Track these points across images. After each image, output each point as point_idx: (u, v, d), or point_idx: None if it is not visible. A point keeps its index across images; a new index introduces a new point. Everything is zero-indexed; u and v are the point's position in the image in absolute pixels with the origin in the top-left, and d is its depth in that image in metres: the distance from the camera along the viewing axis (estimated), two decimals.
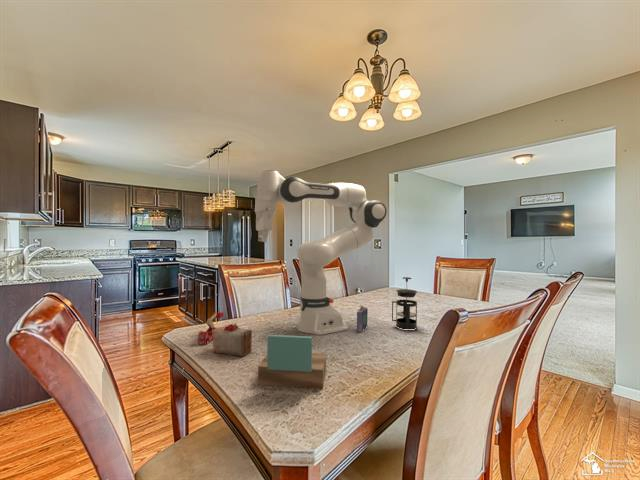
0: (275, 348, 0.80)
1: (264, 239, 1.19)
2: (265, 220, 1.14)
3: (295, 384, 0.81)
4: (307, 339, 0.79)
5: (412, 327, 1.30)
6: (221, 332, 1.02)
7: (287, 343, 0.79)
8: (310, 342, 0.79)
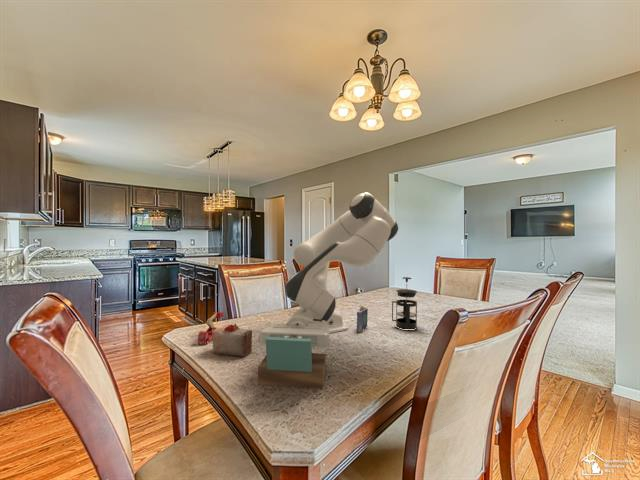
0: (274, 350, 0.78)
1: None
2: None
3: (295, 384, 0.81)
4: (306, 342, 0.77)
5: (412, 327, 1.30)
6: (221, 333, 1.02)
7: (286, 346, 0.78)
8: (309, 345, 0.77)
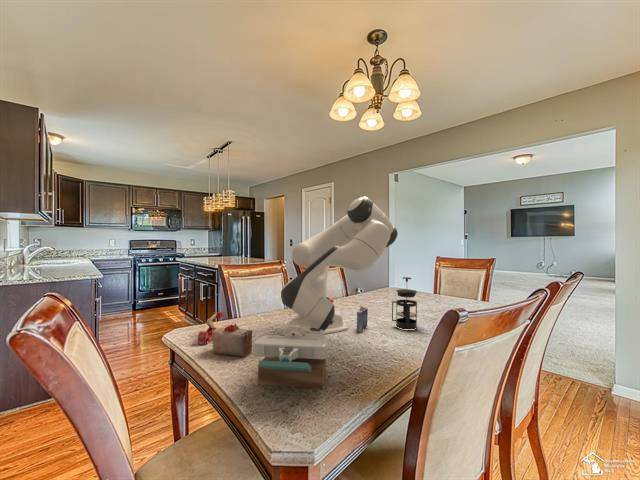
0: (270, 367, 0.74)
1: None
2: None
3: (295, 384, 0.81)
4: (302, 368, 0.71)
5: (412, 327, 1.30)
6: (221, 333, 1.01)
7: (281, 367, 0.73)
8: (306, 368, 0.72)
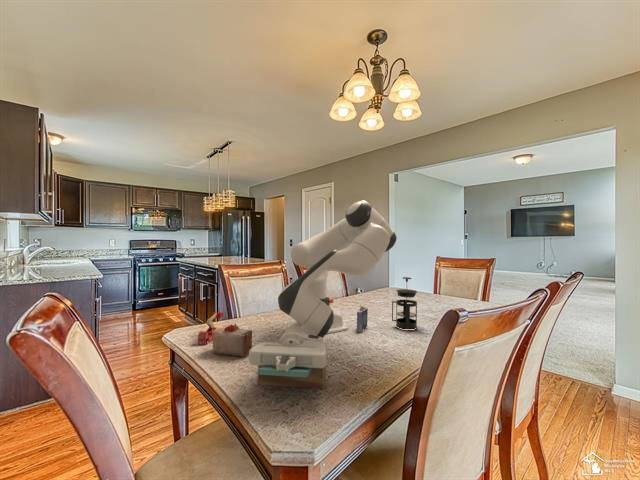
0: None
1: None
2: None
3: (295, 384, 0.81)
4: (302, 376, 0.70)
5: (412, 327, 1.30)
6: (221, 333, 1.01)
7: None
8: (306, 376, 0.71)
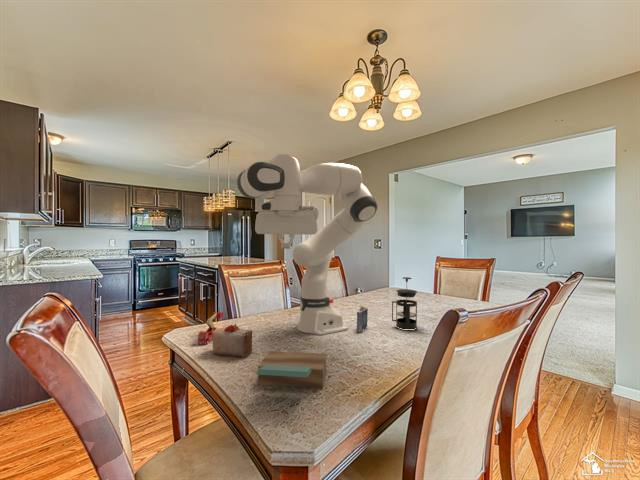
0: None
1: (290, 245, 0.96)
2: (315, 223, 0.94)
3: (295, 384, 0.81)
4: (302, 376, 0.70)
5: (412, 327, 1.30)
6: (222, 334, 1.01)
7: None
8: (306, 376, 0.71)
